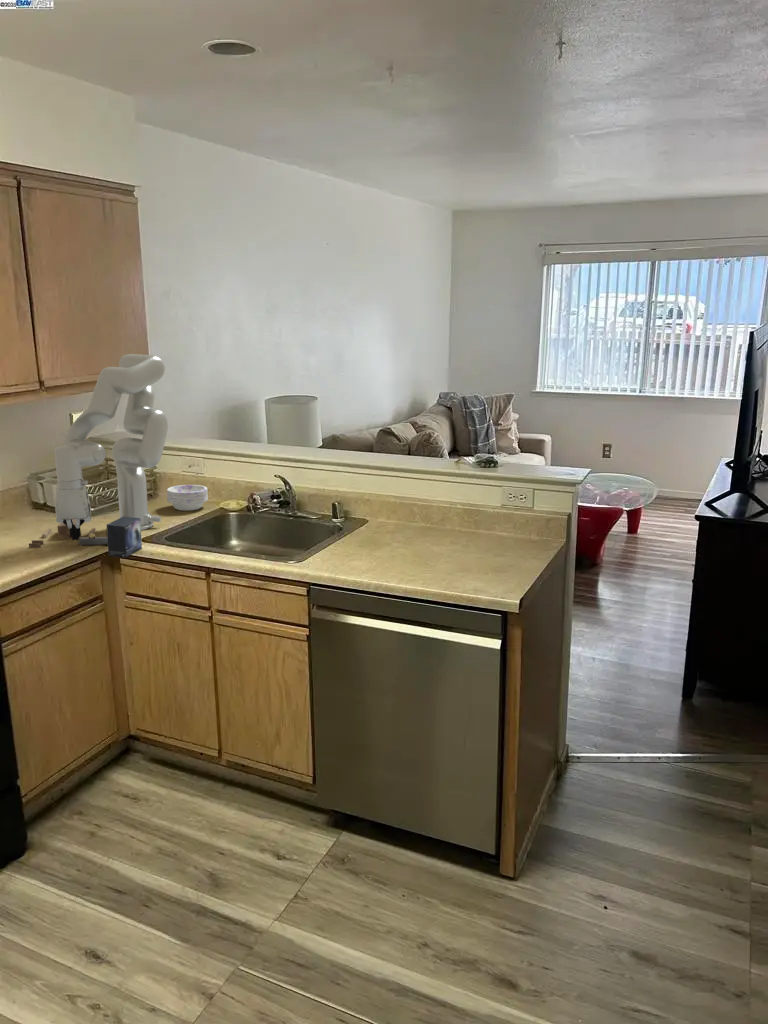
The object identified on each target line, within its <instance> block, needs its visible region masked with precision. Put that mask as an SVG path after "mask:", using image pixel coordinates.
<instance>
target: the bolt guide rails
mask: <svg viewBox="0 0 768 1024" xmlns="http://www.w3.org/2000/svg"><path fill="white" fill-rule="evenodd" d="M94 532H97V531H96V528H95V527H91V529H90V530H89V531H88V533H87V537H89V534H95V533H94ZM51 533H52V528H47V529H46V530H45V532H43V533H42V538H43V539H46V538H47V537H48V536H49V535H50V534H51Z"/></svg>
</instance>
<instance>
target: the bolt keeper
mask: <svg viewBox="0 0 768 1024" xmlns="http://www.w3.org/2000/svg"><path fill="white" fill-rule="evenodd" d="M43 543H45V542H44V540H43V539H37V540H35V539H34V540H33V539H32V540H31V543H28V548H41V546H42V545H44V544H43Z"/></svg>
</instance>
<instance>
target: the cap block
mask: <svg viewBox="0 0 768 1024" xmlns="http://www.w3.org/2000/svg"><path fill="white" fill-rule="evenodd" d="M72 520H73V523H74V526H76V519H72ZM57 536H58V537H57V538H58V539H59V538H64V539H72V537H70V529H69V528H68V526H66V525H65V524H64V523H59V524H58V525H57Z"/></svg>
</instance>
